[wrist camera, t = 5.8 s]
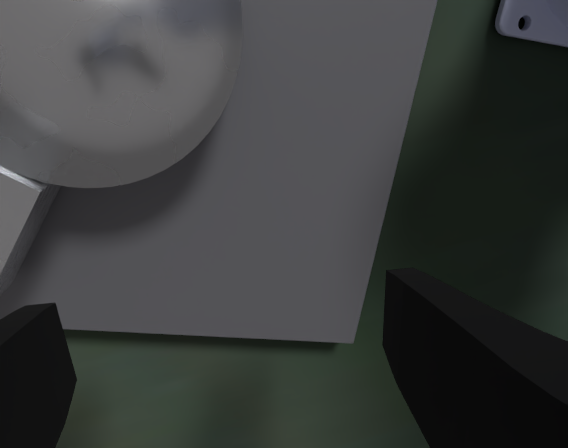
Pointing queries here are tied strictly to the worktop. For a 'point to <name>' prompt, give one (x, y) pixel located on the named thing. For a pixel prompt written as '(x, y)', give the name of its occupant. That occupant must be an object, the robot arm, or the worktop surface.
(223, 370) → the worktop surface
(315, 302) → the base plate
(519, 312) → the worktop surface
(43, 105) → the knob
